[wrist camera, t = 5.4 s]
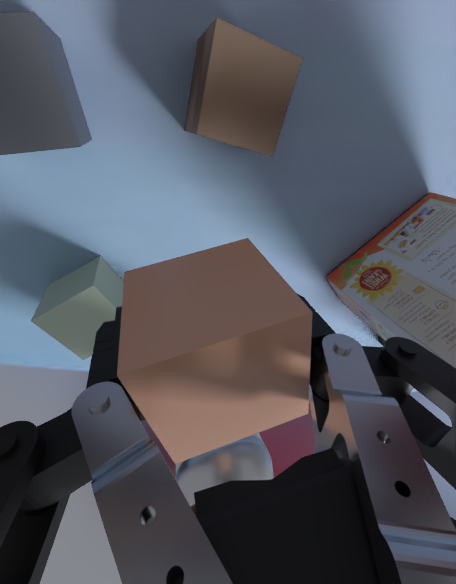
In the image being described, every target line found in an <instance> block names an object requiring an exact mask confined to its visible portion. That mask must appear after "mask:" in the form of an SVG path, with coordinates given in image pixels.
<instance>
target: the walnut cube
mask: <svg viewBox="0 0 456 584" xmlns="http://www.w3.org/2000/svg"><path fill="white" fill-rule="evenodd" d="M302 59H303V58H301V57H299V56H297V55H295V54H293V53H290V52H288V51H286V50H284V49H282V48H280V47H278V46H276V45H274V44H272V43H269V42H267V41H265V40H263V39H261V38H259V37H257V36H255V35H253V34H251V33H248V32H246V31H244V30H242V29H240V28H238V27H236V26H234V25H232V24H229V23H227V22H225V21H223V20H221V19H219V18H216V20H215V21H214V22H213V23H212V24H211V25H210V27H209V28H208V29H207V30H206V31H205V32H204V34H203V35H202V36H201V37H200V38H199V40H198V43H197V49H196V56H195V63H194V69H193V76H192V82H191V89H190V95H189V102H188V108H187V115H186V122H185V128H184V130H185V131H188V132H191V133H194V134H197V135H201V136H204V137H208V138H211V139H214V140H218V141H221V142H224V143H228V144H231V145H235V146H238V147H241V148H245V149H248V150H252V151H255V152H258V153H262V154H265V155H268V156H272V157H273V154H274V150H275V147H276V144H277V141H278V137H279V134H280V131H281V128H282V124H283V121H284V118H285V114H286V111H287V108H288V105H289V101H290V98H291V95H292V91H293V88H294V85H295V82H296V78H297V75H298V72H299V69H300V65H301V62H302Z"/></svg>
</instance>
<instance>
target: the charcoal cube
mask: <svg viewBox="0 0 456 584" xmlns="http://www.w3.org/2000/svg"><path fill="white" fill-rule="evenodd" d="M91 140H92V138H91V135H90V132H89V128H88V125H87V122H86V119H85V116H84V113H83V109H82V106H81V103H80V100H79V97H78V93H77V90H76V87H75V84H74V81H73V78H72V74H71V71H70V68H69V65H68V62H67V58H66V55H65V52H64V49H63V46H62V43H61V39H60V38H59V37H58V36H57V35H56V34H55V33H54V32H53V31H52V30H51V29H50V28H49V27H48V26H47V25H46V24H45V23H44V22H43V21H42V20H41V19H40V18H39V17H38V16H37V15H36V14H35V13H34V12H0V155H6V154H16V153H25V152H35V151H45V150H55V149H64V148H74V147H81V146H82V145H84V144H86V143H87V142H89V141H91Z"/></svg>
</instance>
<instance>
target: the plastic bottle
mask: <svg viewBox="0 0 456 584" xmlns="http://www.w3.org/2000/svg"><path fill="white" fill-rule="evenodd" d="M271 479H273V469H272V461H271V457H270V455H269V453H268V450H267V448H266V446H265V444H264V443H263V441H262V439H261V437H260V435H259V433H256V434H253V435H251V436H248V437H245V438H243V439H240V440H237V441H235V442H232V443H230V444H227V445H224V446H222V447H219V448H216V449H214V450H211V451H209V452H206V453H203V454H201V455H198V456H195V457H193V458H190V459H187V460H185V461H182V462H180V463H177V464H176V481H177V483H178V485H179V487H180V489H181V491H182V492H183V494H184V496H185V498H186V500H187V501H188V503H189V505H190V507H191V506H192V505H194V504H195V499H194V492H197V491H200V490H204V489H207V488H210V487H213V486H216V485H219V484H222V483H225V482H228V481H231V480H271Z"/></svg>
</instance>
